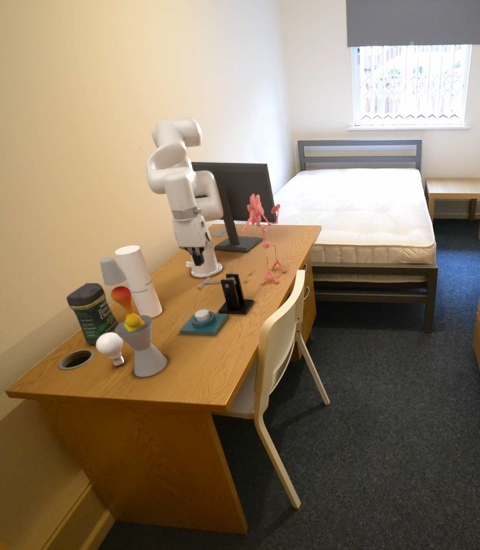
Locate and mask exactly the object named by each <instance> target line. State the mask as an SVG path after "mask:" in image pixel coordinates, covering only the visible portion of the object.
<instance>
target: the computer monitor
mask: <svg viewBox="0 0 480 550" xmlns="http://www.w3.org/2000/svg"><path fill="white" fill-rule="evenodd" d="M191 165H192V169H193V171H194V172H195V171H209V172H211V173H212V174H213V176H214V178H215V180H216V184H217V188H218V192H219V196H220V200H221V203H222V208H223V217H222V218H221V219H218V220H217V221H223V223H224V227H225V231H226V234H227V238H225V239H224V240H222V241H220V242H219V243H216V244H214V245H215V246H213V248H214V250H216V251H227V252H240V253H247V252H249V251H251V249H253V248H254V247H255V246H256V245H257V244H259V243H260V242H261V241H262V240H264V237H259V236H258V237H256V236H242V235H238V231H237V227H236V222H247V221H248V220H249V218H250V213H249V211H248V209H247V205H251V204H250V197H251V196H252V194H254V195H255V198H256V196H257V195H259V196H260V203H261V207H262V208H263V210H264V214H263V215H264V216H265V218H266V219H267V221H268V222H269V223H276V220H277V211H276V212H275V213H274V214H272V213H271V210H272V209H273V208H274V207H275V206H276V205H275V200H274V194H273V189H272V183H271V177H270V171H269V166H268V163H262V162H261V163H260V162H259V163H255V162H216V161H215V162H213V161H211V162H209V161H191ZM194 197H195V199H196V198H204V197H208V196H206V195H201V196H194ZM250 223H251V221H250ZM261 223H267V222H266V220H265V219H264V217H263V216H262V215H261ZM267 224H268V223H267ZM277 224H279V221H278V222H277Z"/></svg>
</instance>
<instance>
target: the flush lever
mask: <svg viewBox="0 0 480 550" xmlns="http://www.w3.org/2000/svg"><path fill="white" fill-rule="evenodd" d="M225 279H229V280H234V283H235V284H236V283H237V282H236V280H235V277H228V278H226V277H225ZM221 280H222V279H220V280H212V278H211V276H209V277H205V278H204V280H203V281H202V282H201V283H200V284H199V285H198V286H197V290H198V291H202V290H203V289H204V287H206V286H218V285H221Z"/></svg>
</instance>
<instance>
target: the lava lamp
mask: <svg viewBox="0 0 480 550" xmlns="http://www.w3.org/2000/svg"><path fill="white" fill-rule="evenodd" d="M116 260H117V259H115V257H114V256H106V257H103V258H101V259H100V261H99V265H100V270H101V274H102V279H103V284H104V285H105V286H108V287H110V286H115V287H114V288H113V289H112V290H111V292H110V297H111V300H112V301H115V302H116V303H117V304H118V305H120V306H121V307H123V310H124V312H125V319H124V320H122V321H121V322H119V323H118V326H117V327H116V328H115V332H116V334H117V335H118V336H119V337H121V338H122V339H123V342H125V343H126V344H127V345H128V346H129V347H131V348H132V349H133V350H134V352H133V354H134V356H133V359H134V360H133V361H134V362H133V363H134V364H133V365H134V366H133V367H134V368H133V369H134V370H133V372H134V374H135V376H137V377H141V378H142V377H143V378H144V377H151V376H153V375H156V374H158V373H160V372H161V371H162V370H164V369H165V367H166V366H167V364H168V359H167V357H166V356H165V355H164V354H163V353H162V352H161V351H160V350H159V349H158V348H157V347H156V345H154V344H153V343H152V337H153V324H154V323H153V322H154V321H153V320H154V319H153V318H151V317H150V316H146V315H140V314H139V313H136V312H135V311H134V307H133V305H132V294H131V292H130V290H129V287H128V286H125V285H120V284H122V283H124V282H126V279H127V278H126V276H125V274H124V273H123V271H122V270H121V267H120V265H119V262H118V261H116ZM116 285H117V286H116ZM118 285H119V286H118Z"/></svg>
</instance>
